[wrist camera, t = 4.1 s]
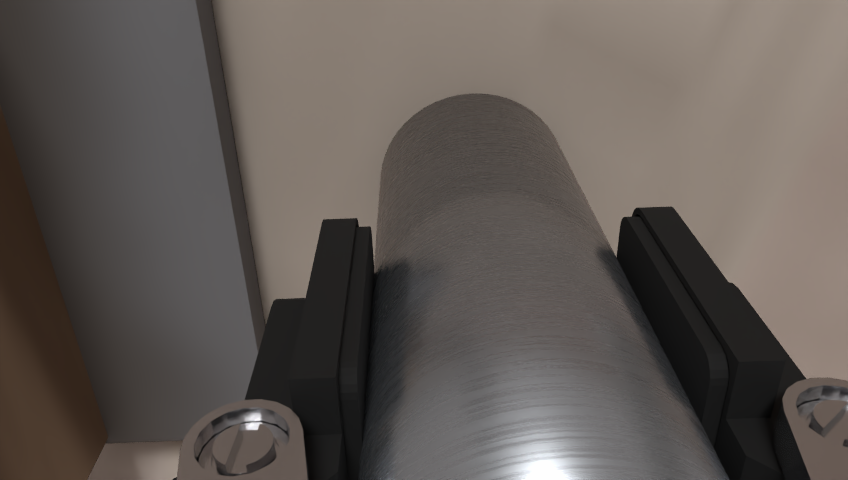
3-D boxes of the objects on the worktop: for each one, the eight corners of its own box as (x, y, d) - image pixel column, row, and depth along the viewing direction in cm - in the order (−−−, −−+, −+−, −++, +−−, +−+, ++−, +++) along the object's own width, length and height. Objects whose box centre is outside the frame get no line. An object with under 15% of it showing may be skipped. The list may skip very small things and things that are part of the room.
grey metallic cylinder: (570, 89, 15) (983, 705, 4) (558, 259, 17) (821, 970, 6) (375, 97, 15) (298, 732, 4) (385, 265, 17) (352, 990, 6)
